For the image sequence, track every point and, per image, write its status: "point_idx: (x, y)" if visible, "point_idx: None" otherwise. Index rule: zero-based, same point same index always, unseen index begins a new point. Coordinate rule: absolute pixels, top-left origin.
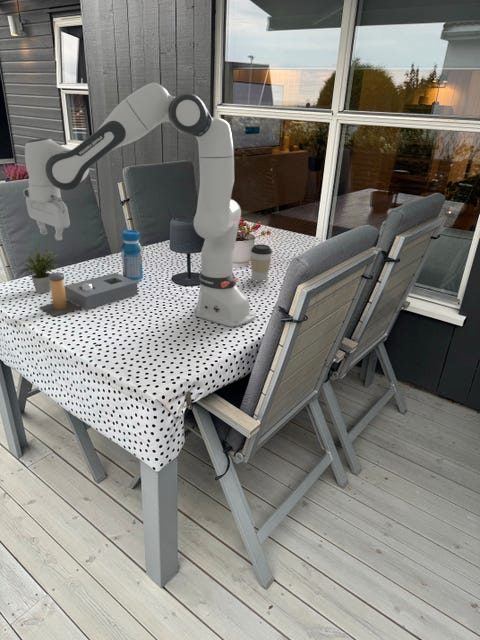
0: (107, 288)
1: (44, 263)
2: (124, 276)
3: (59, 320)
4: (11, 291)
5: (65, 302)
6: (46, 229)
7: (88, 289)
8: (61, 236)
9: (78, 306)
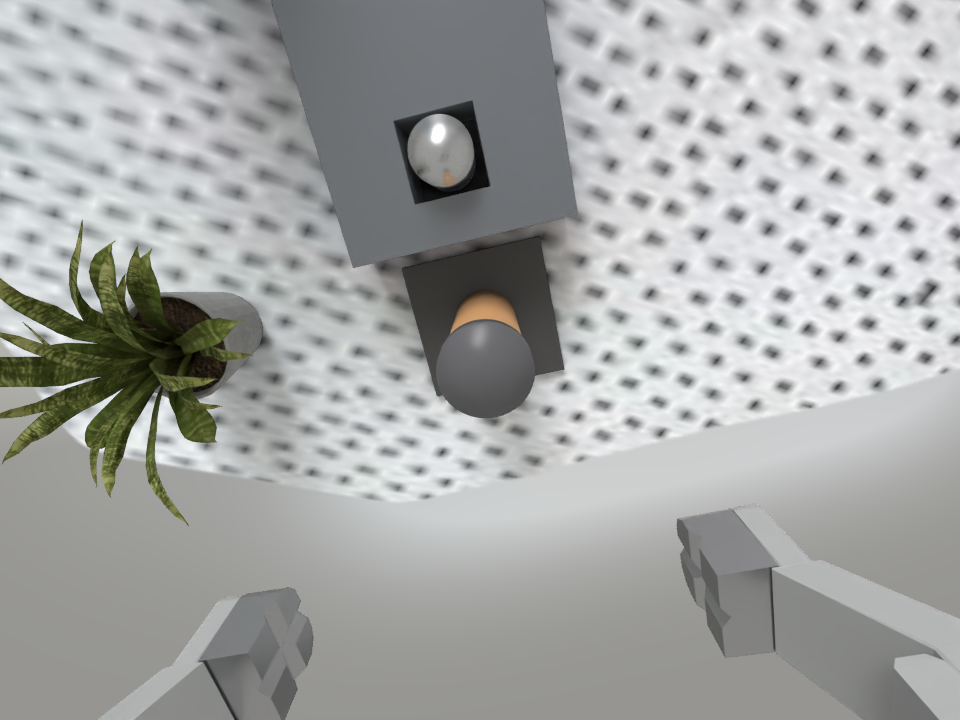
0: (512, 28)
1: (101, 337)
2: None
3: (606, 357)
4: (191, 447)
5: (509, 305)
6: (259, 652)
7: (473, 156)
8: (789, 544)
9: (517, 241)
